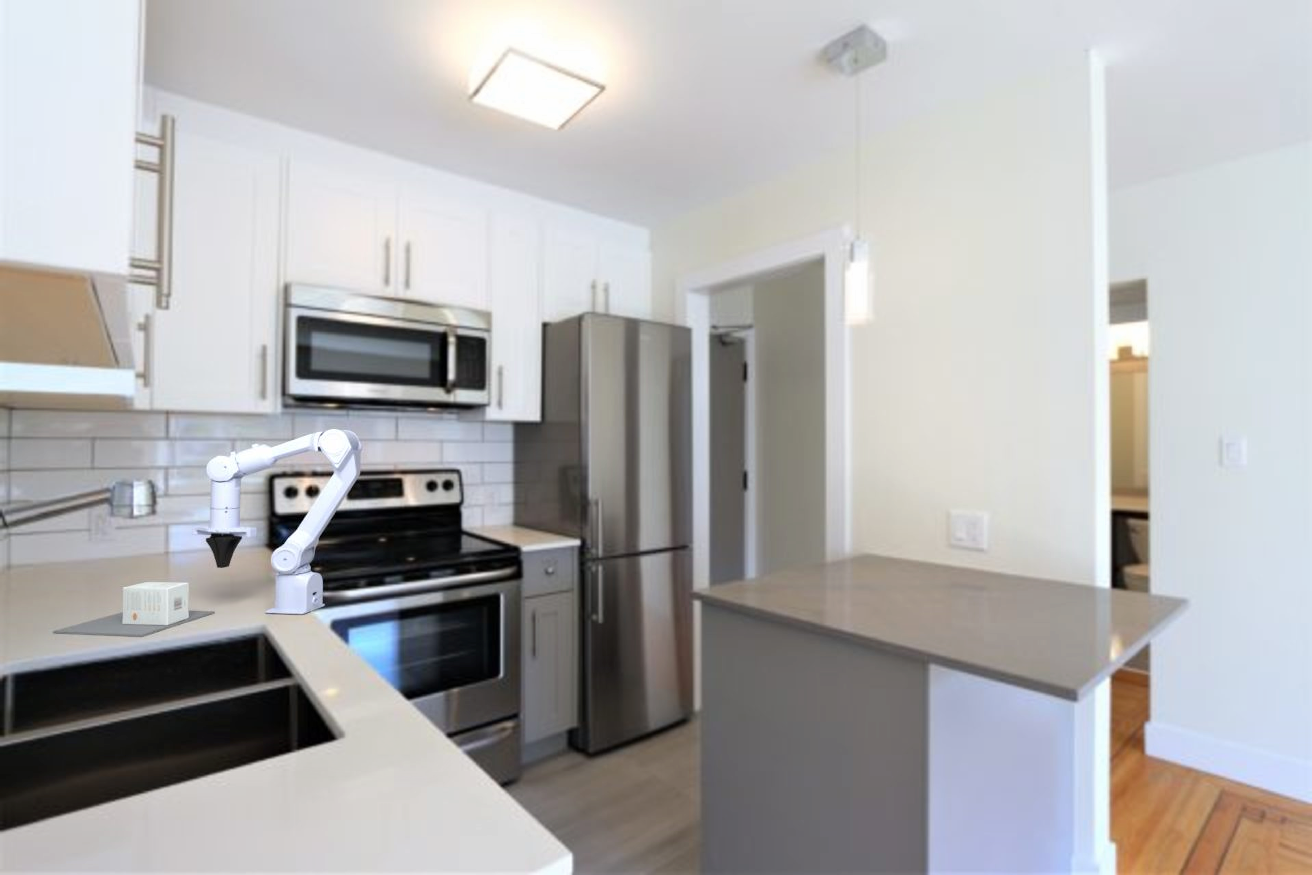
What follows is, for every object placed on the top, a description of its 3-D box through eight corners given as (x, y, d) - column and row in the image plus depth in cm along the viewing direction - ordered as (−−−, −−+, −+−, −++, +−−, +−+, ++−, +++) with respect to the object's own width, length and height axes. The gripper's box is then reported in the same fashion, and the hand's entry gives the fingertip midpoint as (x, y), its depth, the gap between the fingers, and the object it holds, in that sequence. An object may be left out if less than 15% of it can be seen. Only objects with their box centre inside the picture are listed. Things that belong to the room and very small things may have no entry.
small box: (189, 582, 136) (145, 580, 137) (167, 588, 131) (121, 586, 132) (189, 618, 136) (145, 617, 137) (167, 626, 131) (121, 624, 132)
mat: (214, 613, 143) (214, 611, 143) (141, 636, 125) (141, 634, 125) (135, 610, 145) (135, 608, 145) (52, 632, 127) (52, 631, 127)
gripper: (181, 508, 141) (179, 568, 140) (240, 510, 139) (238, 571, 139) (207, 505, 148) (205, 563, 147) (264, 507, 146) (262, 565, 146)
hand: (223, 567), depth 143 cm, fingers closed
